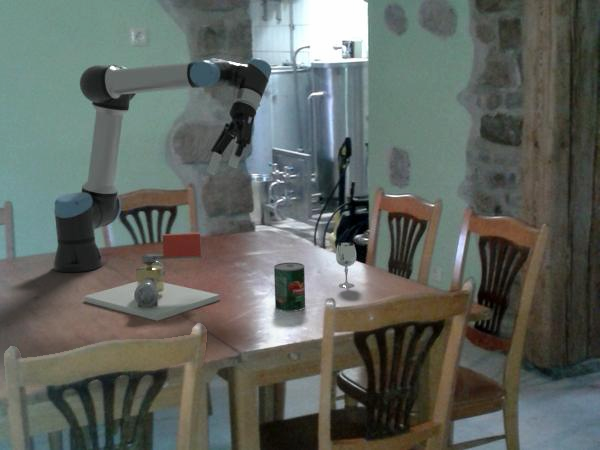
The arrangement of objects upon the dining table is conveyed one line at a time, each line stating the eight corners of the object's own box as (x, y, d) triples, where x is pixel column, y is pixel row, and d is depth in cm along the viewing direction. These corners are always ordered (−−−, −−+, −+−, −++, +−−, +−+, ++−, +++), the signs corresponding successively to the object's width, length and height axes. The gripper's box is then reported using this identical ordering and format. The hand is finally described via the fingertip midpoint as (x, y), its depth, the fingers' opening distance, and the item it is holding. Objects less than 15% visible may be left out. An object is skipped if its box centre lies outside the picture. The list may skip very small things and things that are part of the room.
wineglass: (355, 288, 220) (354, 246, 218) (334, 288, 221) (334, 246, 219) (357, 283, 226) (357, 242, 224) (338, 282, 227) (337, 242, 225)
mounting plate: (84, 301, 215) (83, 296, 214) (146, 283, 231) (146, 278, 231) (157, 320, 196) (156, 315, 196) (219, 300, 213) (219, 294, 212)
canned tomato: (302, 312, 200) (301, 270, 198) (272, 311, 202) (271, 269, 199) (307, 303, 208) (306, 262, 206) (278, 302, 209) (277, 262, 207)
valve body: (142, 283, 226) (140, 253, 224) (167, 282, 226) (165, 252, 225) (133, 310, 200) (130, 275, 198) (160, 308, 201) (158, 274, 199)
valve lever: (141, 264, 210) (140, 237, 208) (143, 260, 213) (141, 234, 212) (201, 261, 211) (199, 234, 210) (201, 258, 215) (200, 231, 213)
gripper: (276, 104, 227) (252, 169, 221) (235, 121, 248) (212, 180, 242) (255, 91, 223) (230, 157, 217) (215, 109, 244) (192, 170, 238)
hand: (221, 170), depth 230 cm, fingers open, 13 cm apart
